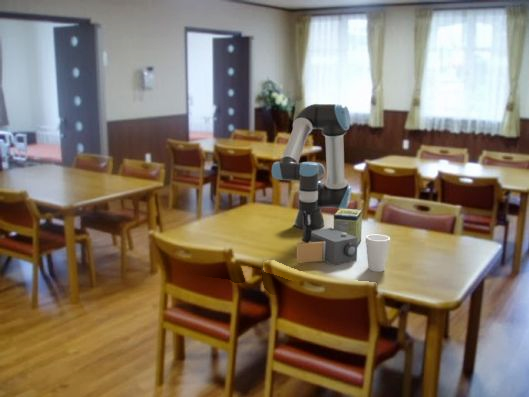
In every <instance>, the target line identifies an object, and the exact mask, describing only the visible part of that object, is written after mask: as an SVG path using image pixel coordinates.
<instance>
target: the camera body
mask: <svg viewBox="0 0 529 397" xmlns="http://www.w3.org/2000/svg"><path fill="white" fill-rule="evenodd" d="M323 241H325V242H326V252H325V261H324V262H326V263H328V264H330V265H333V266H337V265H342V264H346V263H351V262H354V261H355V262H356V261H357V259H358V256H357V255H358V247H357V237H355V236H352V235H349V234H347V233H344V232H341V231H338V230H335V229H334V227H326V228H322V229H321V228H319V229H314V230H312V231H311V241H310V243H311V242H323ZM322 256H323V254H322Z"/></svg>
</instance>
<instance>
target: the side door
mask: <svg viewBox="0 0 529 397" xmlns="http://www.w3.org/2000/svg"><path fill="white" fill-rule="evenodd" d="M325 252H326V242H325V241H323V242H311V243H303V242H301V243H296V263H300V264H301V263H309V262H311V263H314V262H322V261H324V262H326V261H325ZM322 254H323V256H322Z"/></svg>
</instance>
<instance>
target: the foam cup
mask: <svg viewBox="0 0 529 397" xmlns="http://www.w3.org/2000/svg"><path fill="white" fill-rule="evenodd" d="M390 244H391V237H390V236H389V235H385V234H378V233H377V234H375V233H374V234H368V235H366V236H365V247H366V255H367V258H366V259H367V266H368V267H367V268H368V270H370V271H371V272H372V271H373V272H384V271H385V268H386V264H387V257H388V253H389V248H390Z"/></svg>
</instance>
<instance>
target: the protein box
mask: <svg viewBox="0 0 529 397" xmlns="http://www.w3.org/2000/svg"><path fill="white" fill-rule="evenodd" d="M362 224H363V209H359V208H348V207H347V208H339V209H338V210H337V212H335V213H334V215H333V229H335V230H338V231H341V232H344V233H347V234H349V235H352V236H355V237H357V248H358V247H359V245H360V244H361V242H362V227H363V226H362Z"/></svg>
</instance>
